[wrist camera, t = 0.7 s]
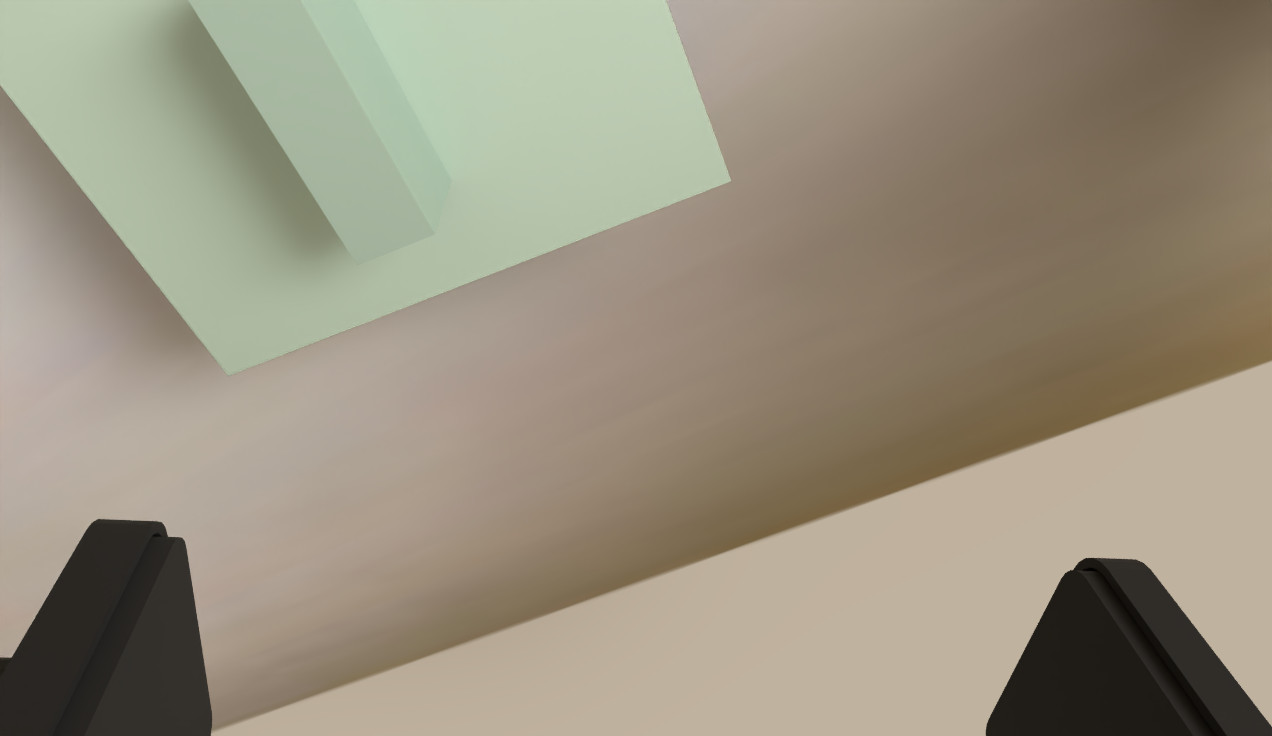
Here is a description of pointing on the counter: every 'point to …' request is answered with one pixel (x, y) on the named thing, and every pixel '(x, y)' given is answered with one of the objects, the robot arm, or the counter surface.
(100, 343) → the counter surface
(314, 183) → the lid
